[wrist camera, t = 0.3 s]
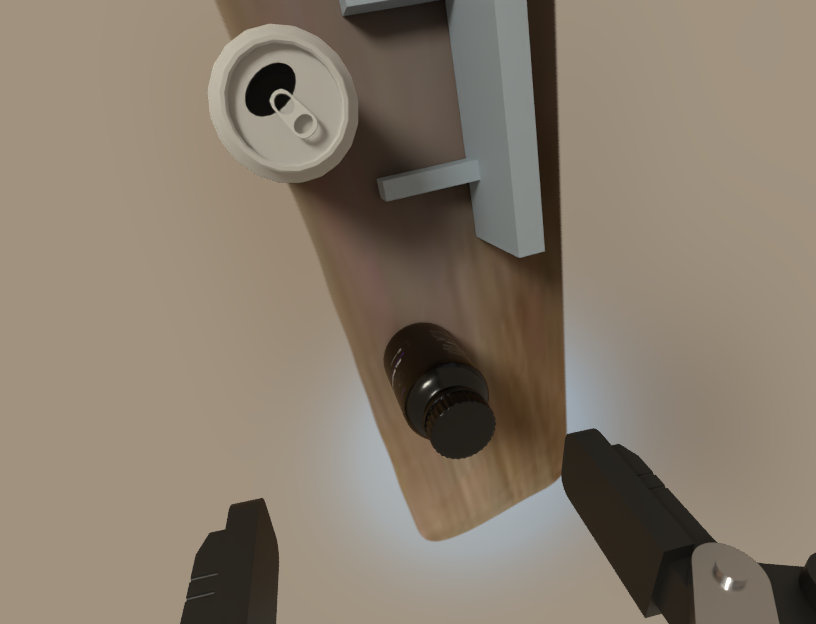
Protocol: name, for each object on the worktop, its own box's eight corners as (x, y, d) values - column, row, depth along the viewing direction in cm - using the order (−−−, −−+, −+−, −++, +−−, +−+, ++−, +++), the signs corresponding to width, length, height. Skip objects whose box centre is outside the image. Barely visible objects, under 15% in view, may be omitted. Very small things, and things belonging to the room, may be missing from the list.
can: (282, 32, 31) (280, -26, 20) (359, 121, 34) (394, 111, 23) (206, 113, 32) (165, 98, 21) (290, 193, 35) (291, 217, 24)
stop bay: (317, -102, 29) (328, -183, 22) (458, -120, 31) (512, -201, 23) (392, 257, 38) (418, 285, 31) (497, 230, 40) (544, 251, 33)
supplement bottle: (369, 342, 41) (399, 417, 30) (437, 307, 41) (492, 367, 30) (400, 400, 43) (439, 487, 32) (463, 366, 44) (523, 441, 33)
